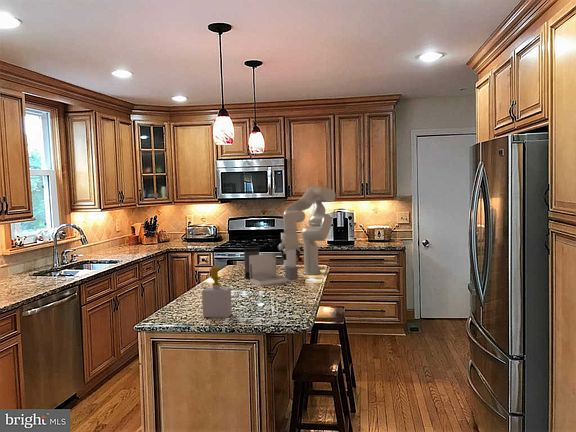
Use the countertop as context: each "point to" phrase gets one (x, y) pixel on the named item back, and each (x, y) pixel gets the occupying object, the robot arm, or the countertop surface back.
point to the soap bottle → (216, 298)
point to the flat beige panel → (294, 280)
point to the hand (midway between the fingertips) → (291, 258)
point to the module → (291, 272)
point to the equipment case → (264, 270)
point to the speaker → (289, 256)
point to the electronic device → (248, 253)
